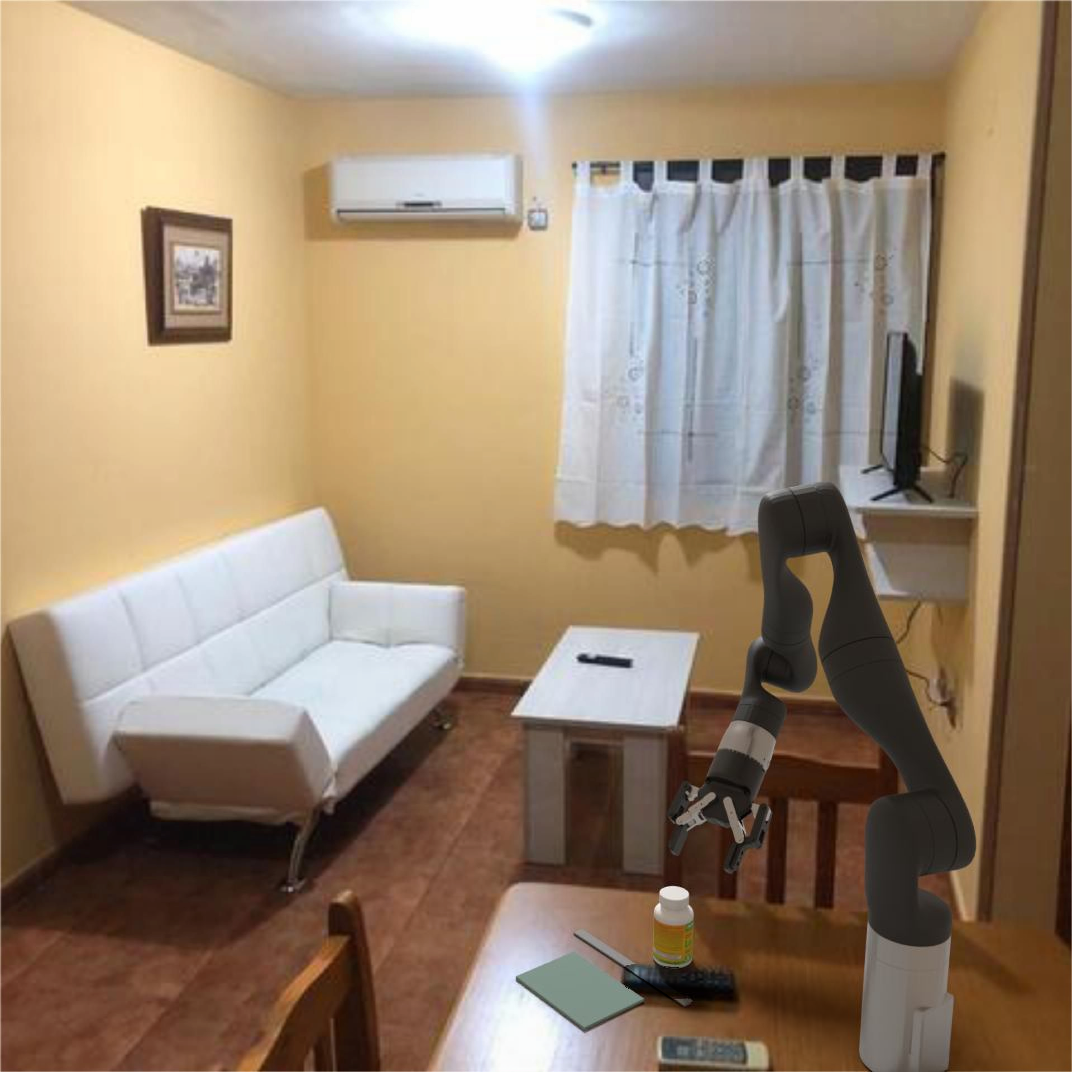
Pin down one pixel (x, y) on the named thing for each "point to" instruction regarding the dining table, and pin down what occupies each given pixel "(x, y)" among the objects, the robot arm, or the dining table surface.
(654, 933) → the supplement bottle
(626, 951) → the dining table surface
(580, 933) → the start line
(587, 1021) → the mat
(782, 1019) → the dining table surface
